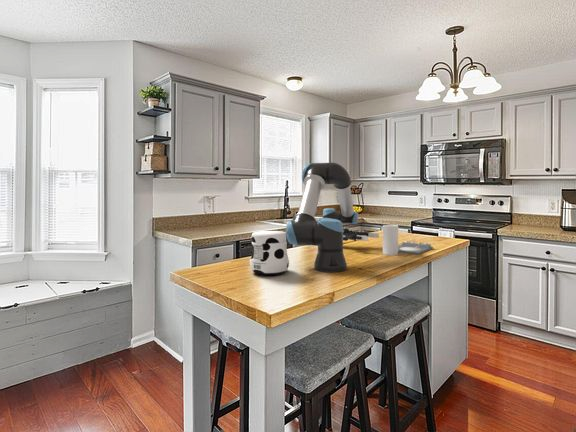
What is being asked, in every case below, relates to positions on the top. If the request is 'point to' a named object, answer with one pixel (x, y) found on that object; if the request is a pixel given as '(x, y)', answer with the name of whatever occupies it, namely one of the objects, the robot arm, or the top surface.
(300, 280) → the top surface
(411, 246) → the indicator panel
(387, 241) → the cup
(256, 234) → the milk container
